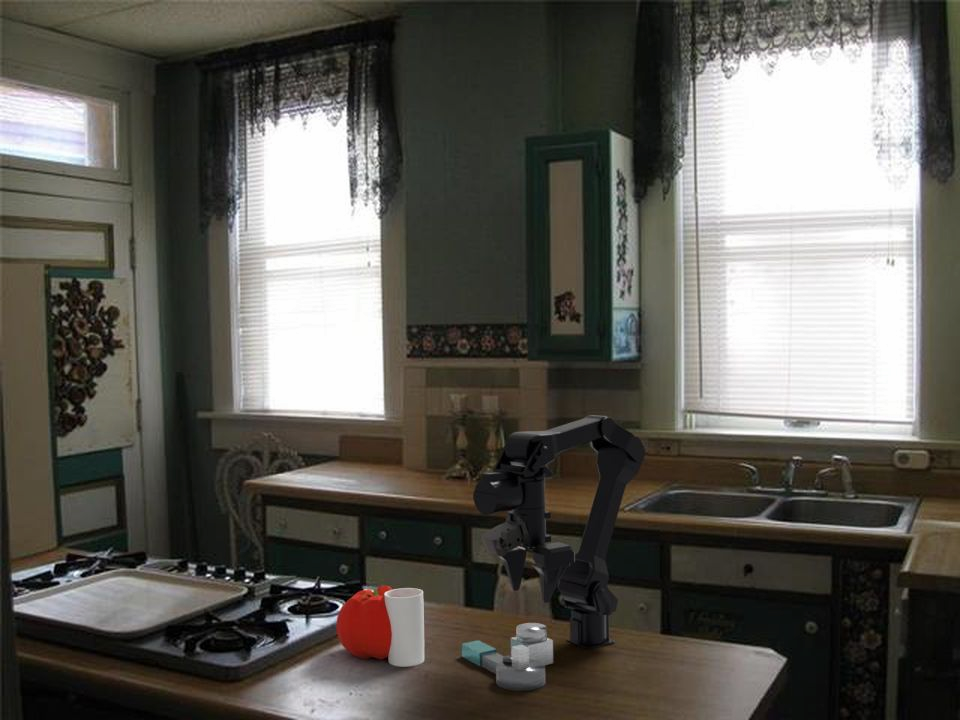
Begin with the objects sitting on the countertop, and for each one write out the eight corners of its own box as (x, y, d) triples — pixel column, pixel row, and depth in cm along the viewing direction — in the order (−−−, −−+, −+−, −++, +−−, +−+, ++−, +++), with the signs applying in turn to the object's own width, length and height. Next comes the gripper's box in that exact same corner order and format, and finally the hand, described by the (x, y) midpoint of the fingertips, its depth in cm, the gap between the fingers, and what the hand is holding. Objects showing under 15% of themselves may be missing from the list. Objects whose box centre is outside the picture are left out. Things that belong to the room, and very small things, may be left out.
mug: (414, 669, 170) (411, 598, 170) (379, 665, 173) (377, 596, 173) (440, 652, 180) (438, 584, 179) (407, 648, 182) (404, 582, 182)
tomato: (395, 669, 170) (392, 600, 170) (322, 662, 175) (320, 595, 175) (429, 646, 182) (426, 582, 182) (360, 640, 188) (357, 577, 187)
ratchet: (450, 659, 176) (449, 627, 175) (489, 651, 180) (488, 619, 180) (513, 694, 158) (513, 658, 158) (555, 684, 163) (554, 649, 162)
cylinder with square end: (535, 654, 177) (535, 621, 177) (553, 663, 173) (552, 628, 173) (511, 660, 174) (510, 626, 174) (528, 669, 170) (527, 633, 170)
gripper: (460, 503, 176) (462, 592, 177) (519, 520, 160) (521, 617, 161) (513, 496, 182) (515, 582, 183) (575, 512, 166) (578, 605, 167)
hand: (530, 596), depth 173 cm, fingers open, 9 cm apart
